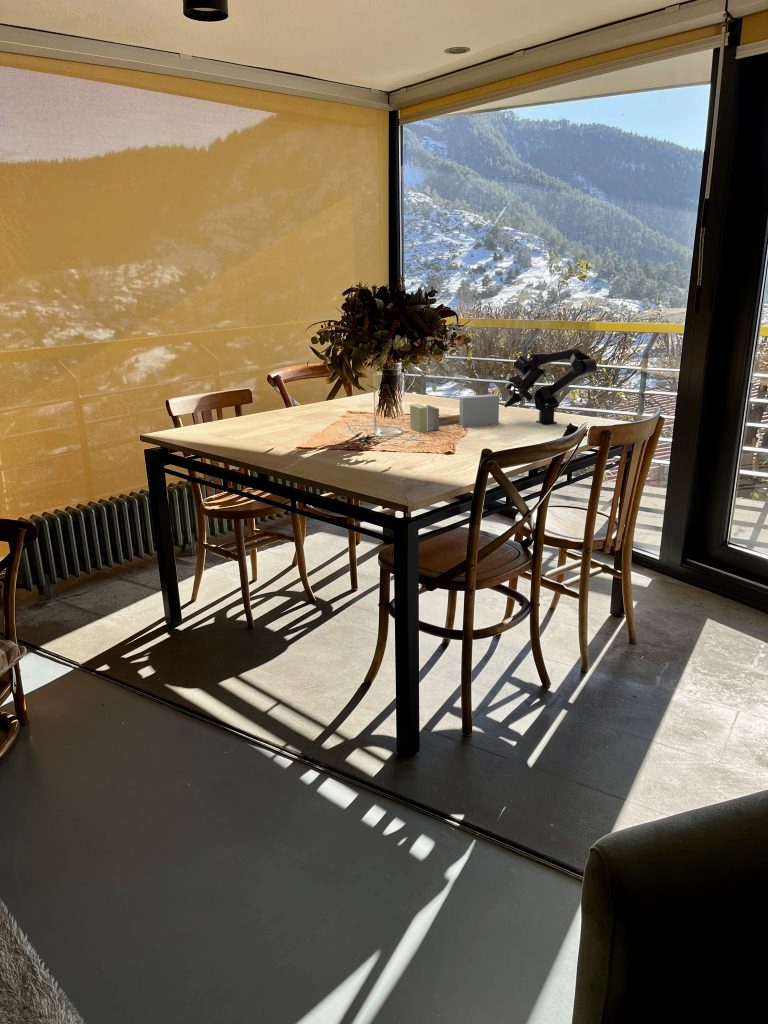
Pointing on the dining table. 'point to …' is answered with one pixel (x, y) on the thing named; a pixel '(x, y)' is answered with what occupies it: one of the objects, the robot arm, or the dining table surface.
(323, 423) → the dining table surface
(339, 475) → the dining table surface
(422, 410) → the shelved book
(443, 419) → the rail
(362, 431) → the dining table surface
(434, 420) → the bookend
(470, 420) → the boxed book
